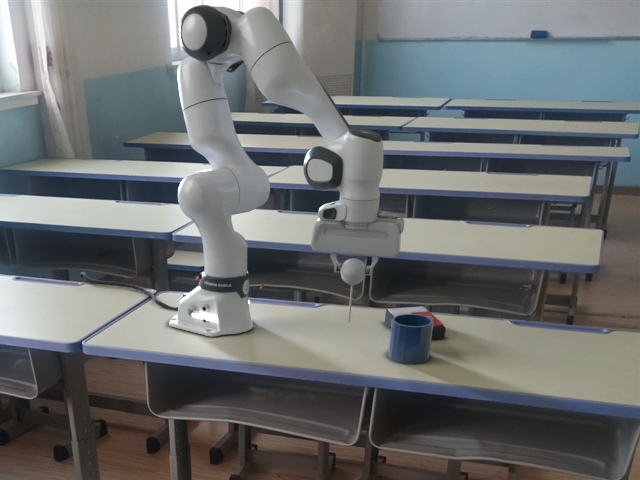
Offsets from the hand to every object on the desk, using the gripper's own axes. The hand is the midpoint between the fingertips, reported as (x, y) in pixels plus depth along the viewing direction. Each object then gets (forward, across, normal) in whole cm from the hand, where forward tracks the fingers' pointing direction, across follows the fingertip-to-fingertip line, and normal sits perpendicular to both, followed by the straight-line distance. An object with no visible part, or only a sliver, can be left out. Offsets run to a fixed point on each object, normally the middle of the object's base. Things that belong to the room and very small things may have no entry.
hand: (353, 273), depth 186 cm
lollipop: (+12, 0, 0) cm, 12 cm away
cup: (+19, -15, -1) cm, 24 cm away
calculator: (+19, -14, -21) cm, 32 cm away
